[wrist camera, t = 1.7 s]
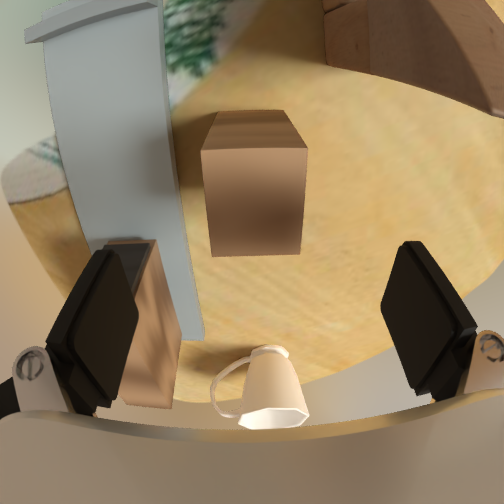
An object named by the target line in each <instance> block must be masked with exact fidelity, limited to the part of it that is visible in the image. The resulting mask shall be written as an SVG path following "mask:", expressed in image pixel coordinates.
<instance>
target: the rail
mask: <svg viewBox="0 0 504 504" xmlns="http://www.w3.org/2000/svg"><path fill="white" fill-rule="evenodd" d="M24 31H25V43H26V44H27V43H36V42H43V47H44V60H45V69H46V78H47V86H48V93H49V99H50V106H51V111H52V117H53V121H54V127H55V132H56V137H57V142H58V146H59V150H60V155H61V159H62V163H63V167H64V171H65V174H66V178H67V182H68V185H69V189H70V192H71V196H72V199H73V202H74V205H75V209H76V212H77V215H78V218H79V221H80V224H81V227H82V230H83V233H84V235H85V238H86V241H87V244H88V247H89V249H90V252H91V255H93V254H94V252H95V251H96V250H102V248H103V247H104V245H107V243H108V241H128V240H152V239H157V243H158V248H159V252H160V256H161V260H162V264H163V268H164V272H165V276H166V279H167V283H168V287H169V291H170V294H171V298H172V301H173V305H174V308H175V312H176V315H177V319H178V322H179V325H180V329H181V332H182V339H181V340H196V341H204V336H205V329H204V324H203V319H202V314H201V310H200V305H199V300H198V295H197V290H196V284H195V279H194V274H193V268H192V263H191V257H190V252H189V246H188V240H187V234H186V228H185V222H184V216H183V209H182V202H181V196H180V189H179V182H178V174H177V167H176V159H175V151H174V143H173V134H172V125H171V116H170V106H169V95H168V84H167V71H166V57H165V41H164V21H163V0H69V1H66V2H64V3H61V4H59V5H57V6H55V7H52V8H50V9H48V10H46V11H44V12H42V21H41V22H39V23H37V24H35V25H33V26H31V27H29V28H27V29H25V30H24Z"/></svg>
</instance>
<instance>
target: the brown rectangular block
mask: <svg viewBox="0 0 504 504" xmlns="http://www.w3.org/2000/svg"><path fill="white" fill-rule="evenodd" d="M200 151H201V162H202V173H203V183H204V192H205V202H206V211H207V220H208V229H209V237H210V246H211V254H212V257H226V256H262V255H298V254H300V249H301V238H302V226H303V214H304V201H305V187H306V172H307V156H308V148H307V146H306V144H305V143H304V141H303V140H302V138H301V136H300V135H299V133H298V132H297V130H296V129H295V127H294V125H293V124H292V122H291V121H290V119H289V118H288V116H287V115H286V113H285V112H284V110H244V111H221V112H218V113H217V115H216V117H215V119H214V121H213V124H212V126H211V128H210V130H209V132H208V135H207V137H206V139H205V141H204V144H203V146H202V148H201V150H200Z"/></svg>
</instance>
